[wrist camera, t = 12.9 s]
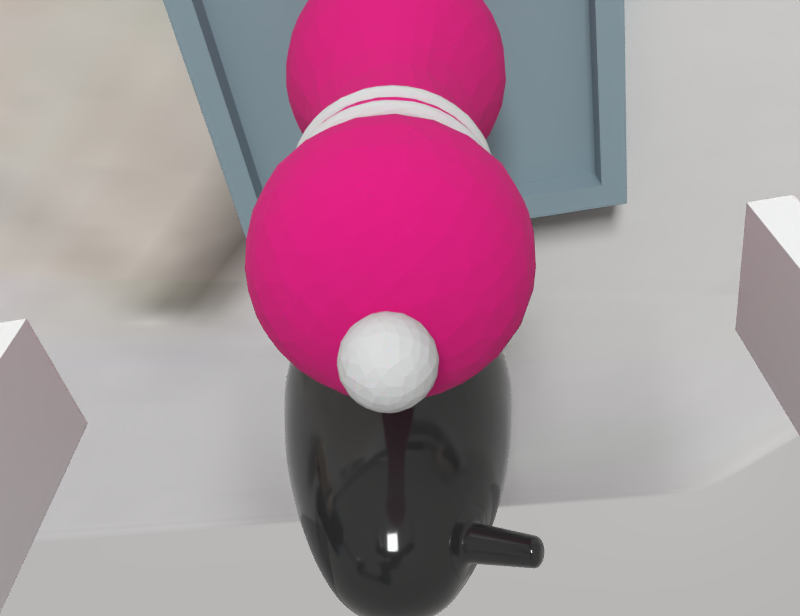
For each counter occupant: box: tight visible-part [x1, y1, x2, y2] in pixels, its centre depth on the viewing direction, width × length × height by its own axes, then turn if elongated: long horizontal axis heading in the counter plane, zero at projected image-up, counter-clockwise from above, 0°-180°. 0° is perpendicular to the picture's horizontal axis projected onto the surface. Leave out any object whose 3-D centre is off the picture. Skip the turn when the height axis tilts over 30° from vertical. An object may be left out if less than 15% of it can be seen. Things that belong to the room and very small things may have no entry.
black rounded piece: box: [285, 351, 544, 616], centre depth 32 cm, size 10×10×15 cm
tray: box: [163, 0, 627, 238], centre depth 29 cm, size 16×16×2 cm
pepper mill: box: [245, 0, 536, 413], centre depth 21 cm, size 7×7×20 cm
